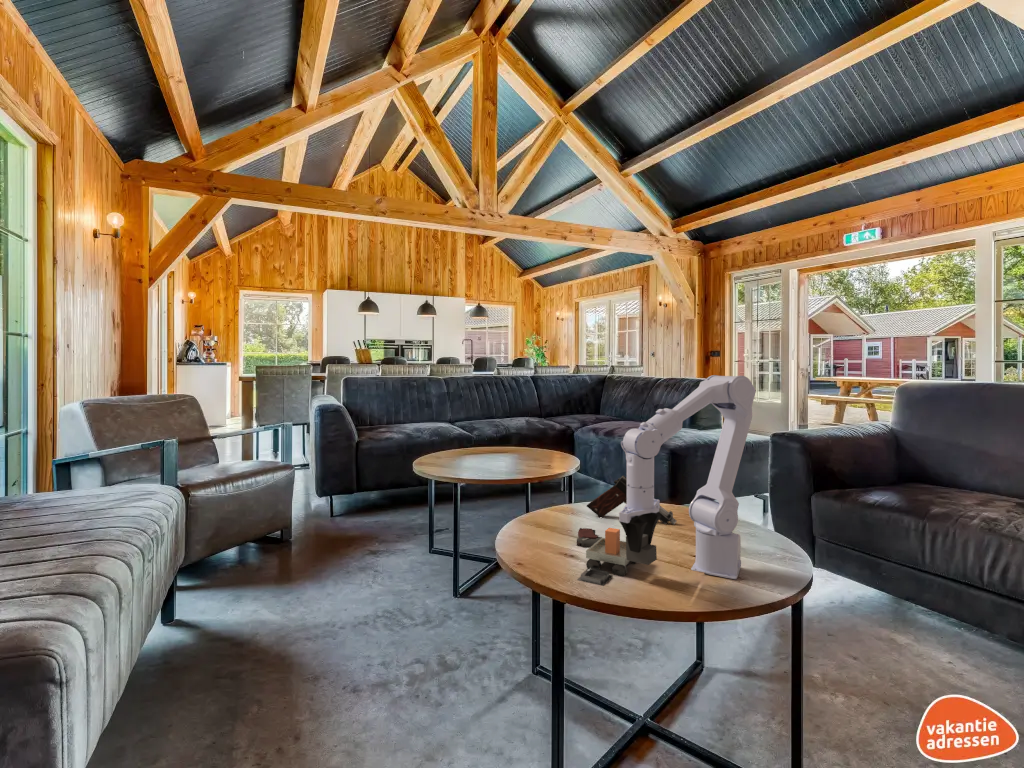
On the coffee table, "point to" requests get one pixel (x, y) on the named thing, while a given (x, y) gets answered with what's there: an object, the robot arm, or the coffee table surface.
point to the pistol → (587, 537)
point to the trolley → (607, 557)
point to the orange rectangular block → (612, 540)
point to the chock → (642, 552)
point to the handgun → (620, 501)
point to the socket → (595, 576)
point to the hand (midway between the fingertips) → (640, 548)
